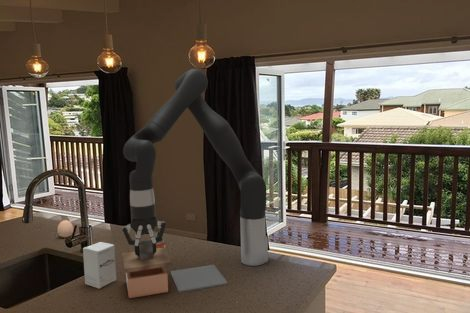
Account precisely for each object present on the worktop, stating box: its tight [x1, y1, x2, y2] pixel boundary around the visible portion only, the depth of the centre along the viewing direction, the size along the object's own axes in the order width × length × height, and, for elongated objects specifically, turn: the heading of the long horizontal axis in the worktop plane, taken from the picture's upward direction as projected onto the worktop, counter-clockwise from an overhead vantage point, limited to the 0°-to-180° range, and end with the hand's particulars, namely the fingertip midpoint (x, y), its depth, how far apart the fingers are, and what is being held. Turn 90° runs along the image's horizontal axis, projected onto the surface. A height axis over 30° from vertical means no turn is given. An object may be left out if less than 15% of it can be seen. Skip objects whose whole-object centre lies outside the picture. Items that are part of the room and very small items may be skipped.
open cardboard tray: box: [125, 266, 169, 299], centre depth 127 cm, size 12×12×6 cm
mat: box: [169, 264, 228, 294], centre depth 133 cm, size 16×16×1 cm
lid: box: [121, 239, 173, 274], centre depth 126 cm, size 14×14×6 cm
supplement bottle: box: [150, 233, 166, 248], centre depth 145 cm, size 6×6×11 cm
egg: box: [57, 219, 74, 238], centre depth 179 cm, size 7×7×8 cm
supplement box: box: [82, 241, 117, 290], centre depth 131 cm, size 7×7×13 cm
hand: (145, 254), depth 126 cm, fingers closed on lid, 4 cm apart
